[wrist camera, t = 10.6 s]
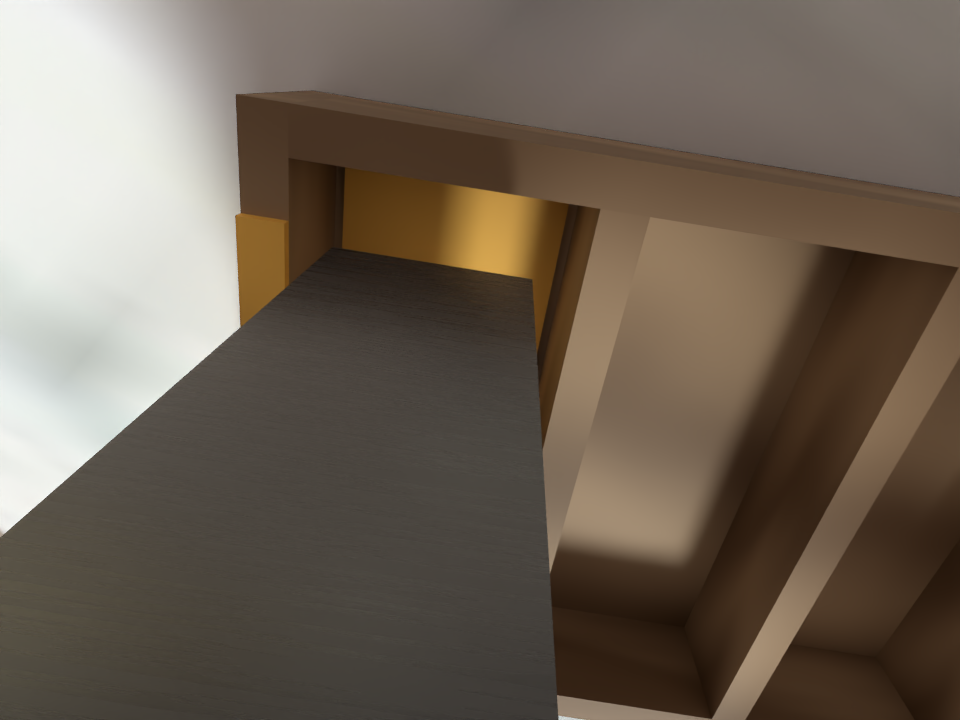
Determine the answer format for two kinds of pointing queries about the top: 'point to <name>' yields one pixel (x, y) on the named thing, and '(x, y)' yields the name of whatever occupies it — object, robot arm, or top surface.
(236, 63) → the top surface
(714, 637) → the rack
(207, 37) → the top surface
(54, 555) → the block
